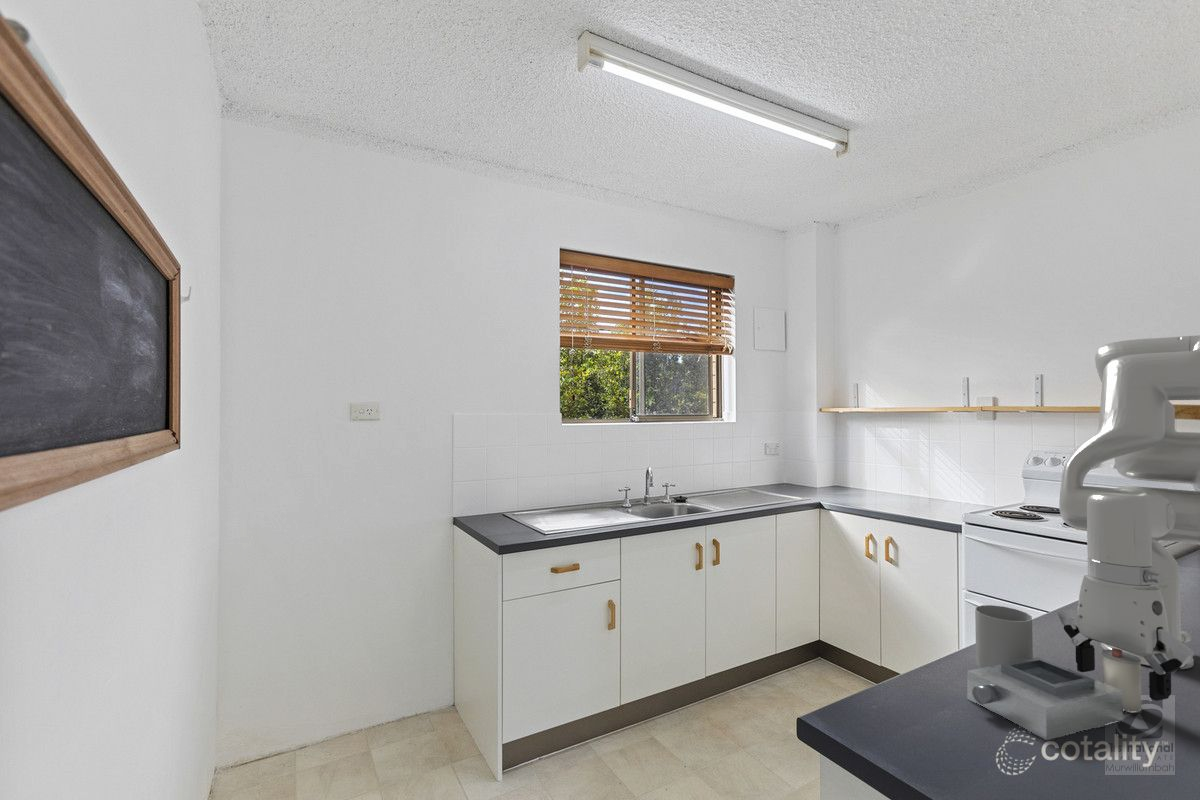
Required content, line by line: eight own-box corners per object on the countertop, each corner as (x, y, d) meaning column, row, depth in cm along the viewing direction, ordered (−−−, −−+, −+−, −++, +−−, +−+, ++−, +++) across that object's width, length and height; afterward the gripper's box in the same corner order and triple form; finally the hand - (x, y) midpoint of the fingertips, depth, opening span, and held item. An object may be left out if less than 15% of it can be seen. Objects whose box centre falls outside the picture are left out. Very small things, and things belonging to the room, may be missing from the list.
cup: (1043, 682, 97) (1042, 623, 97) (989, 678, 98) (988, 619, 99) (1017, 661, 105) (1016, 606, 105) (968, 657, 107) (967, 603, 107)
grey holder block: (1039, 684, 96) (1038, 650, 96) (1123, 721, 85) (1122, 682, 85) (956, 701, 90) (955, 665, 90) (1034, 743, 79) (1033, 701, 79)
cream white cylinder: (1114, 697, 92) (1114, 642, 92) (1148, 711, 88) (1148, 653, 88) (1095, 701, 90) (1095, 645, 91) (1129, 715, 86) (1128, 656, 86)
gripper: (1206, 586, 82) (1209, 707, 82) (1075, 558, 99) (1076, 659, 98) (1173, 590, 80) (1175, 715, 79) (1044, 561, 96) (1045, 664, 96)
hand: (1120, 684), depth 89 cm, fingers open, 9 cm apart
